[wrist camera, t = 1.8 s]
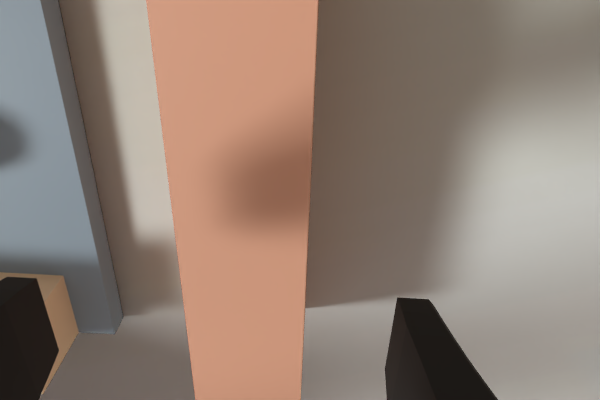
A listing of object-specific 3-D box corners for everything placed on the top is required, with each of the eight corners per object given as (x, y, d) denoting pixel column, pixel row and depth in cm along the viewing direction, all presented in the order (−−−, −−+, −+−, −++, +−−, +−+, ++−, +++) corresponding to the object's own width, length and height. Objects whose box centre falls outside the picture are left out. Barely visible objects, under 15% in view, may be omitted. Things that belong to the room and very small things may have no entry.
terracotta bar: (305, 305, 21) (300, 408, 17) (222, 300, 21) (195, 403, 17) (322, -77, 14) (321, -69, 9) (196, -81, 14) (137, -75, 9)
